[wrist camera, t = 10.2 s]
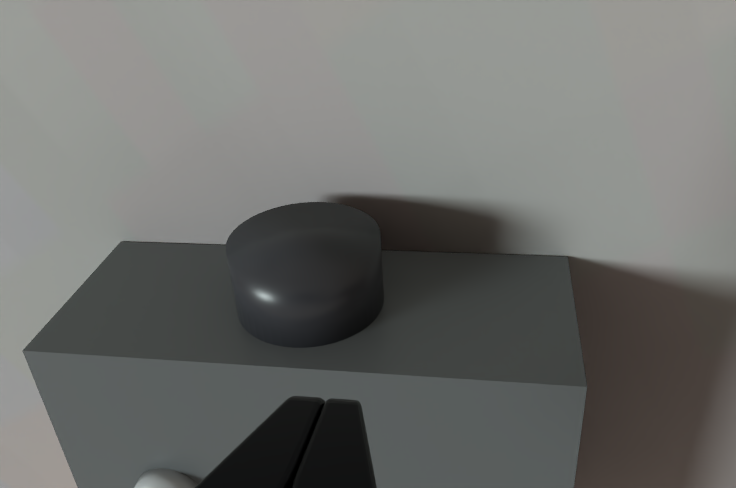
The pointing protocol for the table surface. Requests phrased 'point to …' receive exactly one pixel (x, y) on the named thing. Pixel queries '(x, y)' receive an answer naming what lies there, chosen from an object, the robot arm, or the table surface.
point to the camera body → (316, 355)
